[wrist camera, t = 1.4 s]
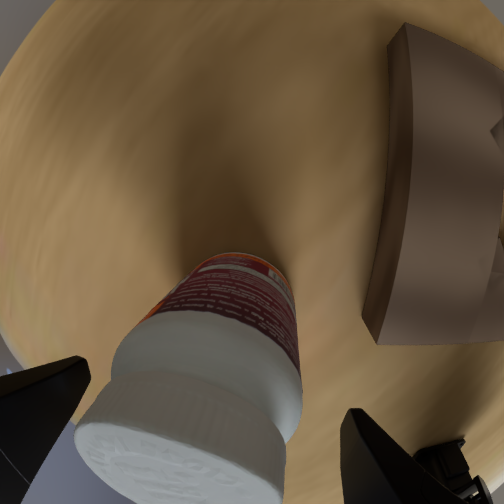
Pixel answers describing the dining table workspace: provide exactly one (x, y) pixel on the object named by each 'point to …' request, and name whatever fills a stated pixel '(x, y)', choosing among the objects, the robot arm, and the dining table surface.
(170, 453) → the pill bottle
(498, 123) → the socket board
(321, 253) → the dining table surface
